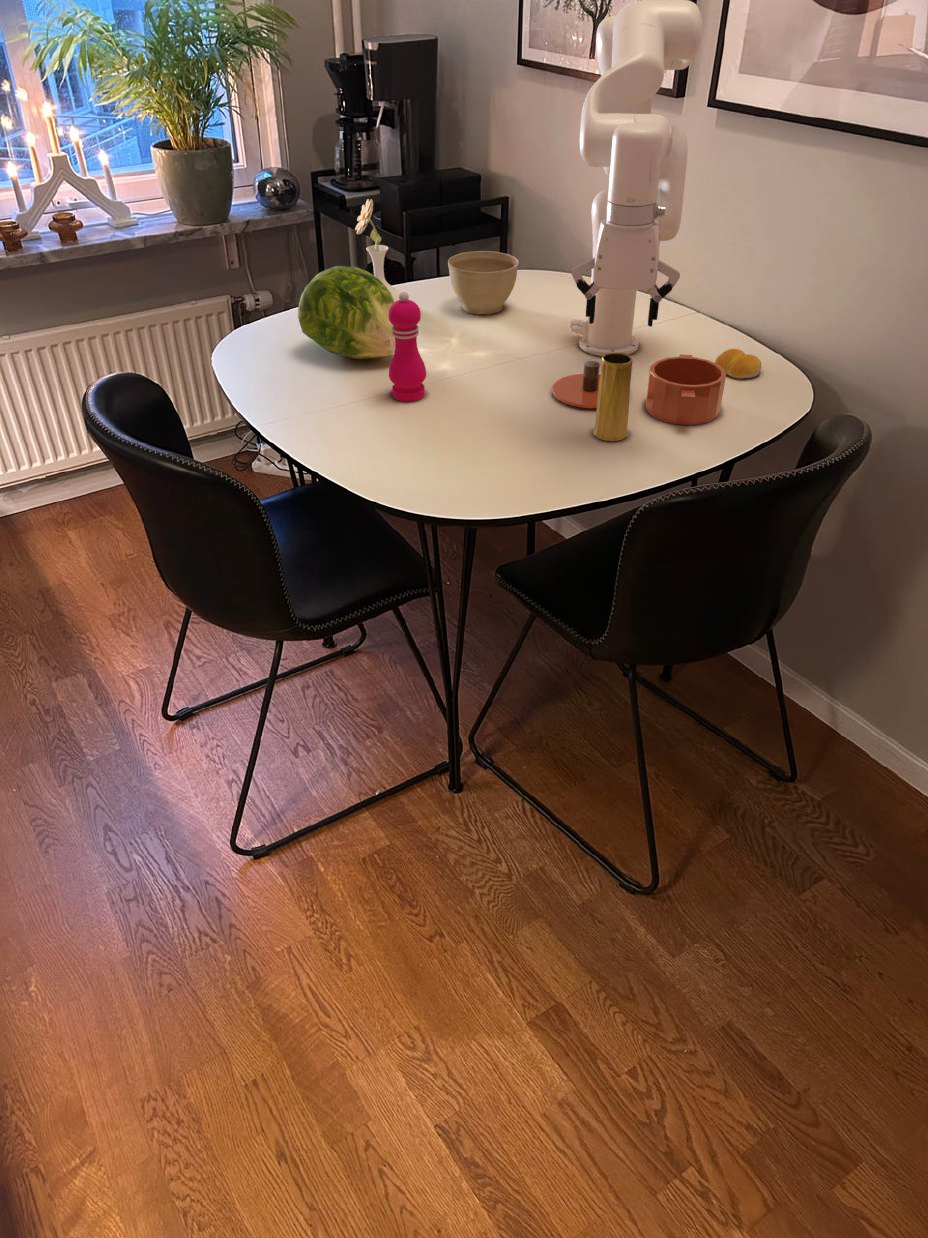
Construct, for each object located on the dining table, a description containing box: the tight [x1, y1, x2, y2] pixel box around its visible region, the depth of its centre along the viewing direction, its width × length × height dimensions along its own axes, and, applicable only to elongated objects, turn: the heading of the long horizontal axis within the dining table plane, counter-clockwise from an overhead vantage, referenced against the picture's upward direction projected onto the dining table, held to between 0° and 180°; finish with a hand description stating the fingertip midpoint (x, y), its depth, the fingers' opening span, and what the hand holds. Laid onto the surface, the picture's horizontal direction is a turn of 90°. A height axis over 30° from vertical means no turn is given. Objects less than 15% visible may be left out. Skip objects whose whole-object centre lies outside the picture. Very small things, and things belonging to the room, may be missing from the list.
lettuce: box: [297, 265, 395, 360], centre depth 194 cm, size 18×23×19 cm
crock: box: [645, 354, 727, 426], centre depth 173 cm, size 14×19×8 cm
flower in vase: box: [354, 198, 401, 302], centre depth 211 cm, size 13×11×25 cm
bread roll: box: [714, 348, 762, 380], centre depth 187 cm, size 8×9×4 cm
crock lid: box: [551, 360, 601, 409], centre depth 179 cm, size 15×15×6 cm
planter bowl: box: [447, 250, 520, 315], centre depth 216 cm, size 16×16×11 cm
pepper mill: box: [388, 291, 427, 402], centre depth 175 cm, size 7×7×20 cm
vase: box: [592, 352, 634, 442], centre depth 163 cm, size 6×6×14 cm
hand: (620, 322), depth 155 cm, fingers open, 9 cm apart
